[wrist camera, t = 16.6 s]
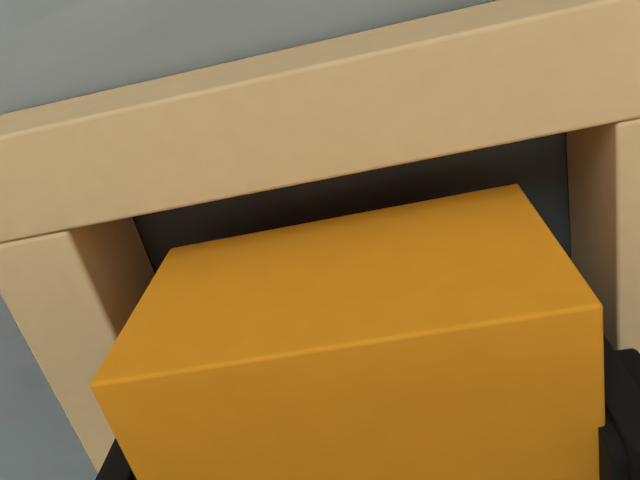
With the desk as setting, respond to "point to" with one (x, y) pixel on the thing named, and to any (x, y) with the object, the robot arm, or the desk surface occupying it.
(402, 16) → the desk surface
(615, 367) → the robot arm
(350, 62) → the socket pad
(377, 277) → the small orange block
